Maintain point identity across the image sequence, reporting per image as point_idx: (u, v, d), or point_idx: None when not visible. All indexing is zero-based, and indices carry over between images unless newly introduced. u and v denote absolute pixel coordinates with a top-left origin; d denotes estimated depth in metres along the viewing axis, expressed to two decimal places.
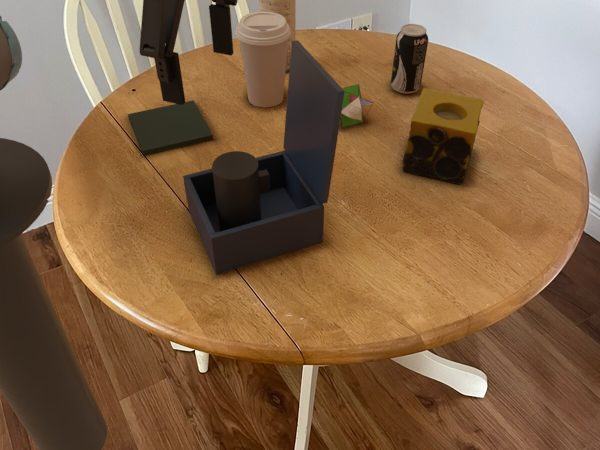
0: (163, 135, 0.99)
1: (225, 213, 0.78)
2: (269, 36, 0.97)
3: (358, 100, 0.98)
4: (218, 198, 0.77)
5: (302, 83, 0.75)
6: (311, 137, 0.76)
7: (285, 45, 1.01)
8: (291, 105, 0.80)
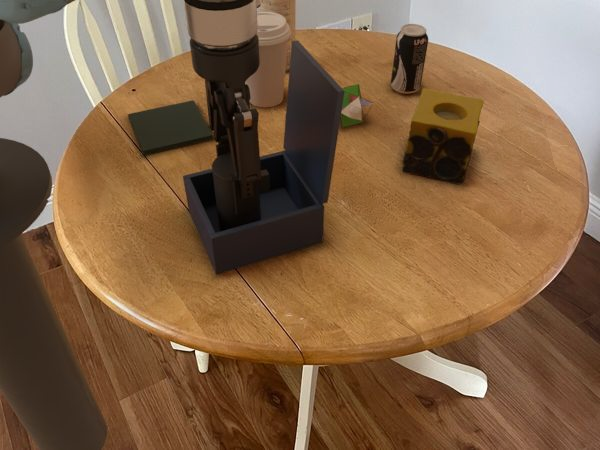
0: (163, 135, 0.99)
1: (225, 213, 0.78)
2: (269, 36, 0.97)
3: (358, 100, 0.98)
4: (218, 198, 0.77)
5: (302, 83, 0.75)
6: (311, 137, 0.76)
7: (285, 45, 1.01)
8: (291, 105, 0.80)
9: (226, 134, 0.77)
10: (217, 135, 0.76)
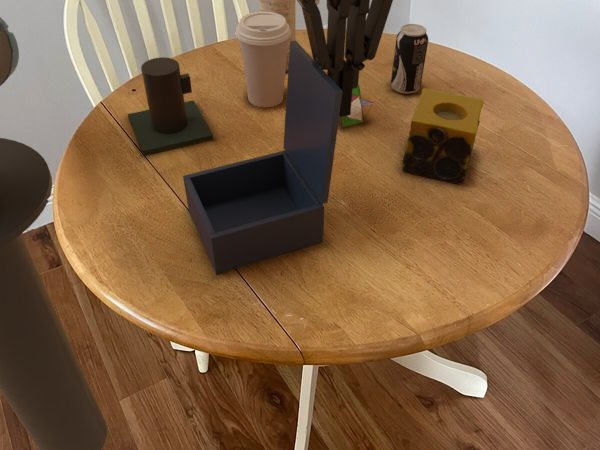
0: (163, 135, 0.99)
1: (154, 107, 0.96)
2: (269, 36, 0.97)
3: (358, 100, 0.98)
4: (148, 95, 0.95)
5: (301, 83, 0.75)
6: (310, 137, 0.76)
7: (285, 45, 1.01)
8: (290, 105, 0.80)
9: None
10: (343, 56, 0.70)
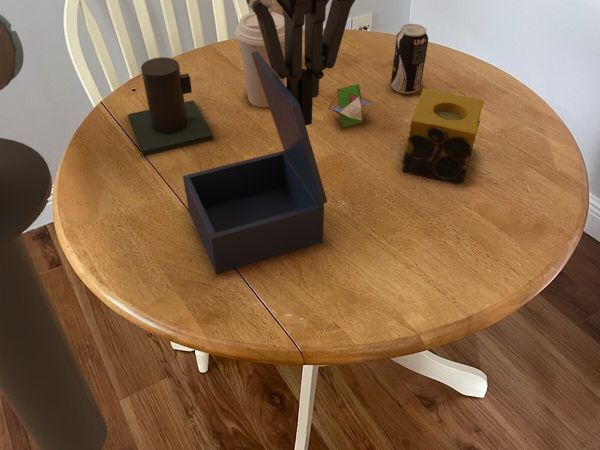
0: (163, 135, 0.99)
1: (154, 107, 0.96)
2: None
3: (358, 100, 0.98)
4: (148, 95, 0.95)
5: (271, 93, 0.74)
6: (294, 143, 0.75)
7: None
8: (273, 112, 0.79)
9: None
10: None
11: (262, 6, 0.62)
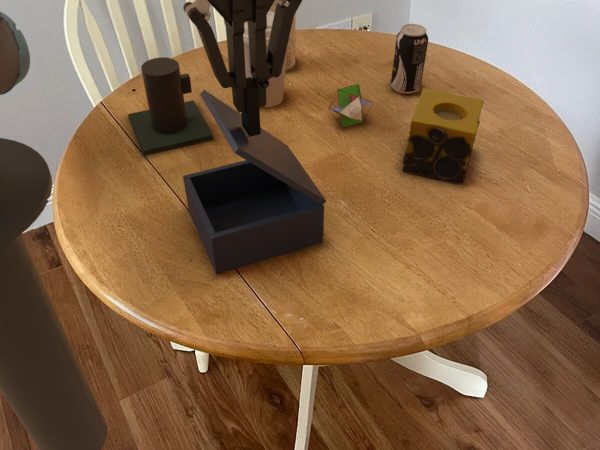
0: (163, 135, 0.99)
1: (154, 107, 0.96)
2: (269, 36, 0.97)
3: (358, 100, 0.98)
4: (148, 95, 0.95)
5: None
6: None
7: None
8: None
9: None
10: (245, 74, 0.67)
11: (198, 14, 0.60)
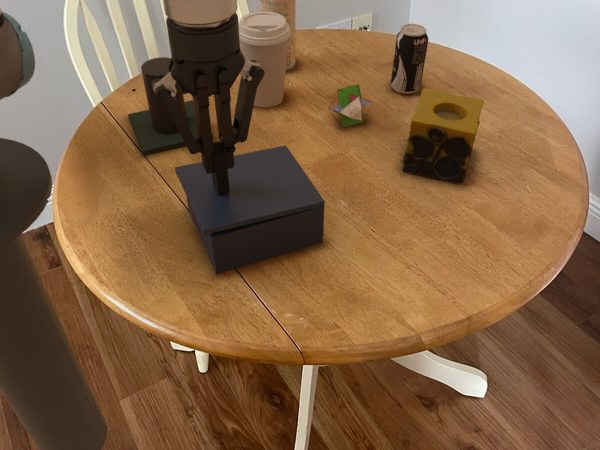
0: (163, 135, 0.99)
1: (154, 107, 0.96)
2: (269, 36, 0.97)
3: (358, 100, 0.98)
4: (148, 95, 0.95)
5: None
6: None
7: (285, 45, 1.01)
8: None
9: None
10: None
11: (164, 92, 0.64)
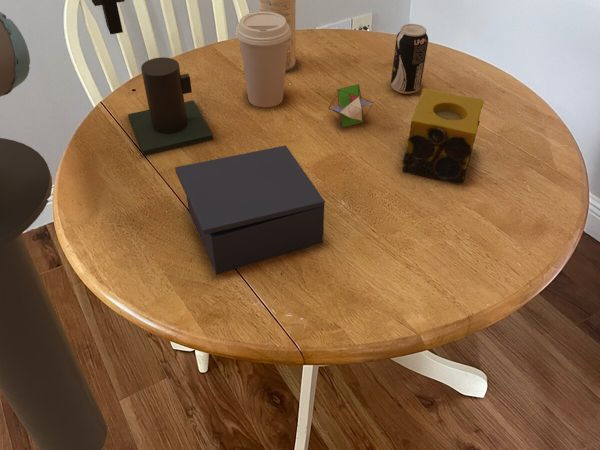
0: (163, 135, 0.99)
1: (154, 107, 0.96)
2: (269, 36, 0.97)
3: (358, 100, 0.98)
4: (148, 95, 0.95)
5: None
6: None
7: (285, 45, 1.01)
8: None
9: None
10: None
11: None
